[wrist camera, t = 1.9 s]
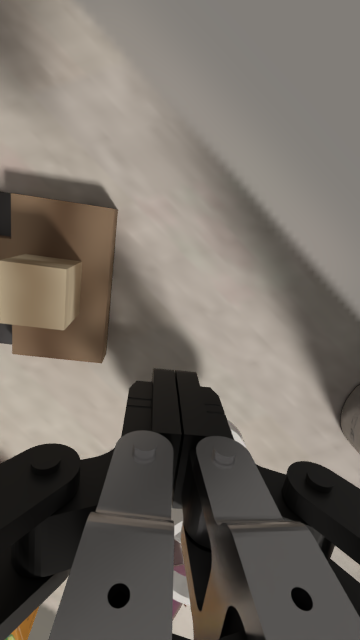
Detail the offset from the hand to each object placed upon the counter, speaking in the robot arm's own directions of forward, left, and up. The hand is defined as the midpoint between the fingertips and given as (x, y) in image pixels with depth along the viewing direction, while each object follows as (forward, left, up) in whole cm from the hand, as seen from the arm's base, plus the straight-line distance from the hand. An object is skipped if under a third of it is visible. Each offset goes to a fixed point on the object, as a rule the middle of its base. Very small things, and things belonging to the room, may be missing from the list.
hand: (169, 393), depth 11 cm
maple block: (+8, 0, -14) cm, 16 cm away
